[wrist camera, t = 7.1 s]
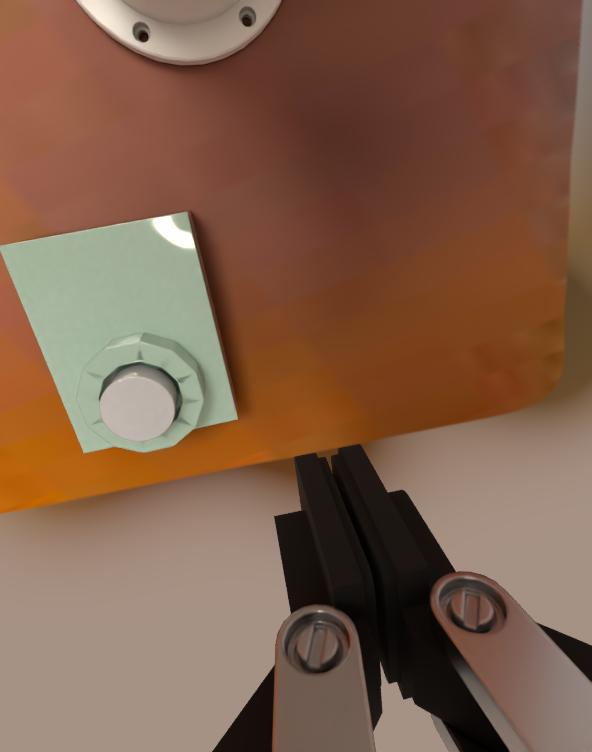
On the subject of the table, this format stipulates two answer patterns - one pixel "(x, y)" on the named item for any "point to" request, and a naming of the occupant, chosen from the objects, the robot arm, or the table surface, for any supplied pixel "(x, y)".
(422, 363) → the table surface
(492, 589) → the robot arm
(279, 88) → the table surface
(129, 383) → the grey push button
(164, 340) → the green push button box
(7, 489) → the table surface
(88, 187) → the table surface
